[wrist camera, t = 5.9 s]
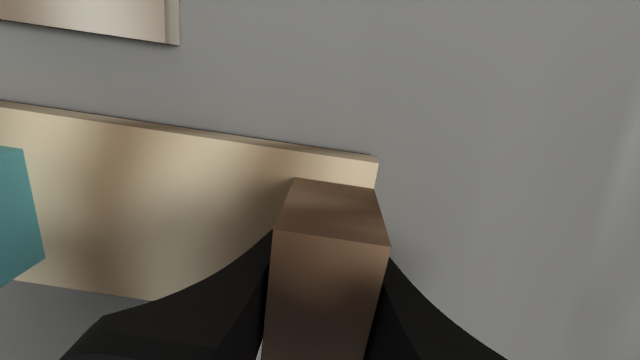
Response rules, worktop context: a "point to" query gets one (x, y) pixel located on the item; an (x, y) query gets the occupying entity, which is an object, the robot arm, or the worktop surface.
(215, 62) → the worktop surface
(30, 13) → the broken strip
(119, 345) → the robot arm
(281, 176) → the wooden board with block
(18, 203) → the cube
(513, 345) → the worktop surface
